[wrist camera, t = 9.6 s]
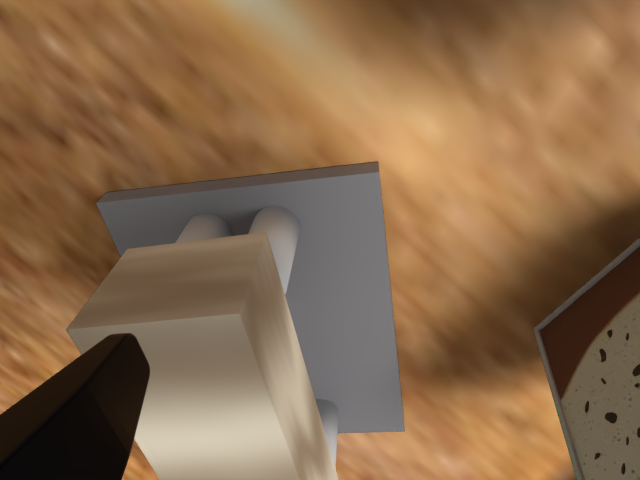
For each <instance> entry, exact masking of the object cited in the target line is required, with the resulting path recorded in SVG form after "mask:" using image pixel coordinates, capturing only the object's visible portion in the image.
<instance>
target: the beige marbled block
mask: <svg viewBox="0 0 640 480" xmlns="http://www.w3.org/2000/svg"><path fill="white" fill-rule="evenodd" d="M66 331H67V332H68V334H69V335H70V337H71V339H72V340H73V342H74V343H75V345H76V347H77V348H78V350H79V351H80V353H81V355H82V354H84V353H85V352H86V351H88V350H89V349H90V348H92V347H93V346H94V345H96V344H97V343H99V342H100V341H101V340H103V339H104V338H105V337H107V336H108V335H111V334H119V333H131V334H133V335H134V336H136V338H137V340H138V342H139V344H140V346H141V348H142V350H143V352H144V354H145V356H146V358H147V360H148V363H149V366H150V377H149V382H148V386H147V390H146V394H145V398H144V402H143V406H142V410H141V414H140V418H139V422H138V426H137V430H136V434H135V438H134V439H135V441H136V442H137V444H138V445H139V447H140V449H141V450H142V452H143V453H144V455H145V456H146V458H147V460H148V461H149V463H150V464H151V466H152V468H153V469H154V471H155V472H156V474H157V476H158V477H159V479H160V480H338V476H337V473H336V469H335V466H334V462H333V459H332V456H331V452H330V449H329V445H328V442H327V438H326V435H325V431H324V428H323V424H322V421H321V418H320V414H319V411H318V407H317V404H316V400H315V397H314V393H313V390H312V387H311V383H310V380H309V376H308V373H307V369H306V366H305V362H304V359H303V356H302V352H301V349H300V345H299V342H298V338H297V335H296V331H295V328H294V325H293V321H292V318H291V314H290V311H289V307H288V304H287V300H286V297H285V294H284V290H283V287H282V283H281V280H280V276H279V273H278V269H277V266H276V263H275V259H274V256H273V252H272V249H271V245H270V242H269V238H268V235H267V232H262V233H253V234H245V235H237V236H229V237H221V238H213V239H205V240H196V241H188V242H180V243H172V244H164V245H156V246H148V247H139V248H131V249H127V250H126V251H125V253H124V254H123V255H122V257H121V258H120V259H119V261H118V262H117V263H116V265H115V266H114V267H113V268H112V270H111V271H110V272H109V274H108V275H107V276H106V278H105V279H104V280H103V282H102V283H101V284H100V286H99V287H98V288H97V290H96V291H95V292H94V294H93V295H92V296H91V297H90V299H89V300H88V301H87V303H86V304H85V305H84V307H83V308H82V309H81V311H80V312H79V313H78V315H77V316H76V317H75V319H74V320H73V321H72V322H71V324H70V325H69V326H68V328H67V329H66Z"/></svg>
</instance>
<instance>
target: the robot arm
mask: <svg viewBox="0 0 640 480" xmlns="http://www.w3.org/2000/svg"><path fill="white" fill-rule="evenodd" d="M149 377H150V366H149V363H148V360H147V358H146V356H145V354H144V352H143V350H142V348H141V346H140V344H139V342H138V340H137V338H136V336H134V335H133V334H131V333H119V334H111V335H108V336H107V337H105V338H104V339H103V340H101V341H100V342H99V343H97V344H96V345H94V346H93V347H92V348H90V349H89V350H88V351H86V352H85V353H84V354H82V355H81V356H80V357H78V358H77V359H75V360H74V361H73V362H71V363H70V364H69V365H67V366H66V367H65V368H63V369H62V370H60V371H59V372H58V373H56V374H55V375H54V376H52V377H51V378H50V379H48V380H47V381H46V382H44V383H43V384H41V385H40V386H39V387H37V388H36V389H35V390H33V391H32V392H31V393H29V394H28V395H26V396H25V397H24V398H22V399H21V400H20V401H18V402H17V403H16V404H14V405H13V406H12V407H10V408H9V409H7V410H6V411H5V412H3V413H2V414H1V415H0V480H121V479H122V476H123V474H124V471H125V468H126V465H127V462H128V459H129V456H130V452H131V449H132V445H133V442H134V438H135V434H136V430H137V426H138V422H139V418H140V414H141V410H142V406H143V402H144V398H145V394H146V390H147V386H148V382H149Z"/></svg>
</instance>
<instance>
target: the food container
mask: <svg viewBox="0 0 640 480" xmlns="http://www.w3.org/2000/svg"><path fill="white" fill-rule="evenodd" d="M533 331H534V334H535V337H536V341H537V344H538V348H539V351H540V355H541V358H542V361H543V365H544V368H545V372H546V375H547V379H548V382H549V386H550V389H551V392H552V396H553V399H554V403H555V406H556V410H557V413H558V417H559V420H560V423H561V427H562V430H563V434H564V437H565V441H566V444H567V447H568V451H569V454H570V458H571V461H572V465H573V468H574V472H575V475H576V478H577V480H640V238H638V239H637V240H636V241H635V242H634V243H633V244H631V245H630V246H629V247H628V248H627V249H626V250H624V251H623V252H622V253H621V254H620V255H619V256H617V257H616V258H615V259H614V260H613V261H612V262H610V263H609V264H608V265H607V266H606V267H605V268H603V269H602V270H601V271H600V272H599V273H598V274H596V275H595V276H594V277H593V278H592V279H591V280H589V281H588V282H587V283H586V284H585V285H584V286H582V287H581V288H580V289H579V290H578V291H577V292H575V293H574V294H573V295H572V296H571V297H570V298H568V299H567V300H566V301H565V302H564V303H563V304H561V305H560V306H559V307H558V308H557V309H556V310H554V311H553V312H552V313H551V314H550V315H549V316H547V317H546V318H545V319H544V320H543V321H542V322H540V323H539V324H538V325H537V326H536V327H535V328H533Z"/></svg>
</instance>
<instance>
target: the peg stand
mask: <svg viewBox="0 0 640 480" xmlns="http://www.w3.org/2000/svg"><path fill="white" fill-rule="evenodd" d="M96 205H97V207H98V209H99V211H100V213H101V215H102V218H103V220H104V222H105V224H106V226H107V229H108V231H109V233H110V235H111V237H112V239H113V242H114V244H115V246H116V248H117V250H118V253H119V255H120V257H122V255H123V254H124V253H125V251H126V250H127V249H131V248H139V247H148V246H156V245H164V244H172V243H180V242H188V241H196V240H205V239H213V238H221V237H229V236H237V235H245V234H253V233H262V232H267V235H268V238H269V242H270V245H271V249H272V252H273V256H274V259H275V263H276V266H277V269H278V273H279V276H280V280H281V283H282V287H283V290H284V294H285V297H286V300H287V304H288V307H289V311H290V314H291V318H292V321H293V325H294V328H295V331H296V335H297V338H298V342H299V345H300V349H301V352H302V356H303V359H304V362H305V366H306V369H307V373H308V376H309V380H310V383H311V387H312V390H313V393H314V397H315V400H316V404H317V407H318V411H319V414H320V418H321V421H322V424H323V428H324V431H325V435H326V438H327V442H328V445H329V449H330V452H331V456H332V459H333V462H334V466H336V448H337V433H366V432H403V431H405V428H404V416H403V405H402V395H401V385H400V375H399V365H398V355H397V345H396V335H395V325H394V315H393V305H392V295H391V285H390V275H389V265H388V255H387V245H386V234H385V224H384V214H383V204H382V194H381V184H380V174H379V164H378V162H371V163H362V164H353V165H345V166H336V167H327V168H318V169H309V170H300V171H292V172H283V173H274V174H265V175H256V176H247V177H239V178H230V179H221V180H212V181H203V182H195V183H186V184H177V185H168V186H159V187H150V188H142V189H133V190H124V191H115V192H107V193H106V194H105V195H104V196H103V197H102V198H101V199H100V200H99V201H98V202H97V203H96Z"/></svg>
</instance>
